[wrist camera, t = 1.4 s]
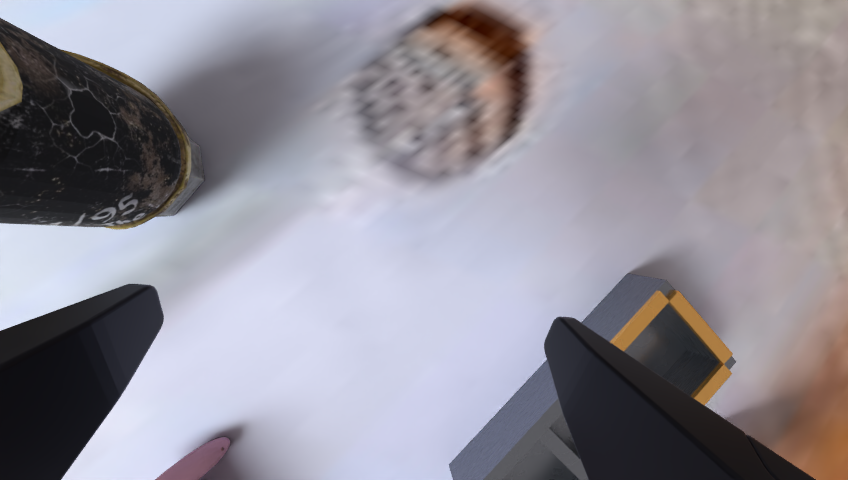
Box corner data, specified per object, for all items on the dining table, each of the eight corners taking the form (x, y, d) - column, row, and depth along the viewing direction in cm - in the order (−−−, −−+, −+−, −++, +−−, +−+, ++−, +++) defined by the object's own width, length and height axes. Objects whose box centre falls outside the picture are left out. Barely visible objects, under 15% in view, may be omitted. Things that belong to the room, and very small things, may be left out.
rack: (522, 533, 25) (547, 586, 21) (448, 465, 24) (461, 508, 20) (690, 344, 27) (740, 363, 23) (627, 273, 26) (669, 280, 22)
